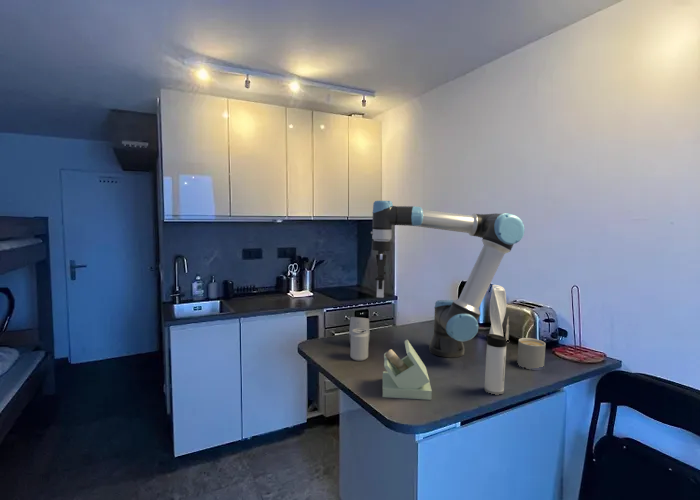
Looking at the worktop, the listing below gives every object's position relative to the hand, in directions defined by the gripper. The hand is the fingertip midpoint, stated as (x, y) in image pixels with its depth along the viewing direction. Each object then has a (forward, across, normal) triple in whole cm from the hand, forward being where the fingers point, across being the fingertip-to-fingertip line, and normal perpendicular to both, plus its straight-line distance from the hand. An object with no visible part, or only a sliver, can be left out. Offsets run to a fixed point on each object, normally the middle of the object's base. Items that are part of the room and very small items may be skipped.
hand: (380, 293), depth 157 cm
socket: (+29, +22, +10) cm, 37 cm away
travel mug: (+29, +20, +40) cm, 53 cm away
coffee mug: (+29, -7, +63) cm, 70 cm away
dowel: (+25, +22, +12) cm, 35 cm away
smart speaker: (+29, -21, -9) cm, 37 cm away
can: (+29, -5, -8) cm, 30 cm away
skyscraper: (+29, -37, +57) cm, 74 cm away
